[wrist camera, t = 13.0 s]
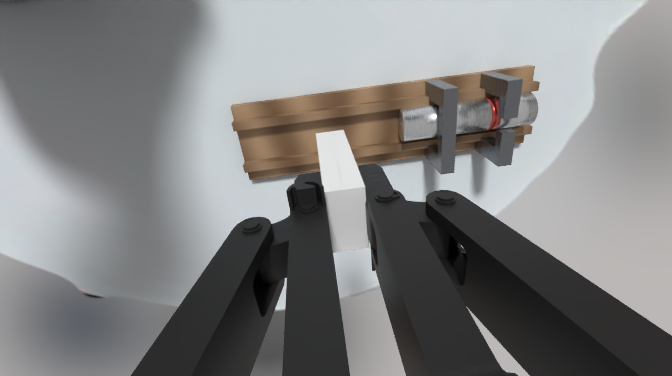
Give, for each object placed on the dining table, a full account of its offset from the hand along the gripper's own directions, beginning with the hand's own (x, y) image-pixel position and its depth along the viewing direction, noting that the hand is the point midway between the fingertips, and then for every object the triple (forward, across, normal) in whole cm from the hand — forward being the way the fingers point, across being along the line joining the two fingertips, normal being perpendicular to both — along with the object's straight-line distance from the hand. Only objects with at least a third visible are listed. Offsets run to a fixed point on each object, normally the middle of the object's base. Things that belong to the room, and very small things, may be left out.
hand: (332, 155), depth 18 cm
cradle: (+25, +8, -7) cm, 27 cm away
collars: (+24, +18, -7) cm, 30 cm away
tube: (+24, +18, -7) cm, 30 cm away
